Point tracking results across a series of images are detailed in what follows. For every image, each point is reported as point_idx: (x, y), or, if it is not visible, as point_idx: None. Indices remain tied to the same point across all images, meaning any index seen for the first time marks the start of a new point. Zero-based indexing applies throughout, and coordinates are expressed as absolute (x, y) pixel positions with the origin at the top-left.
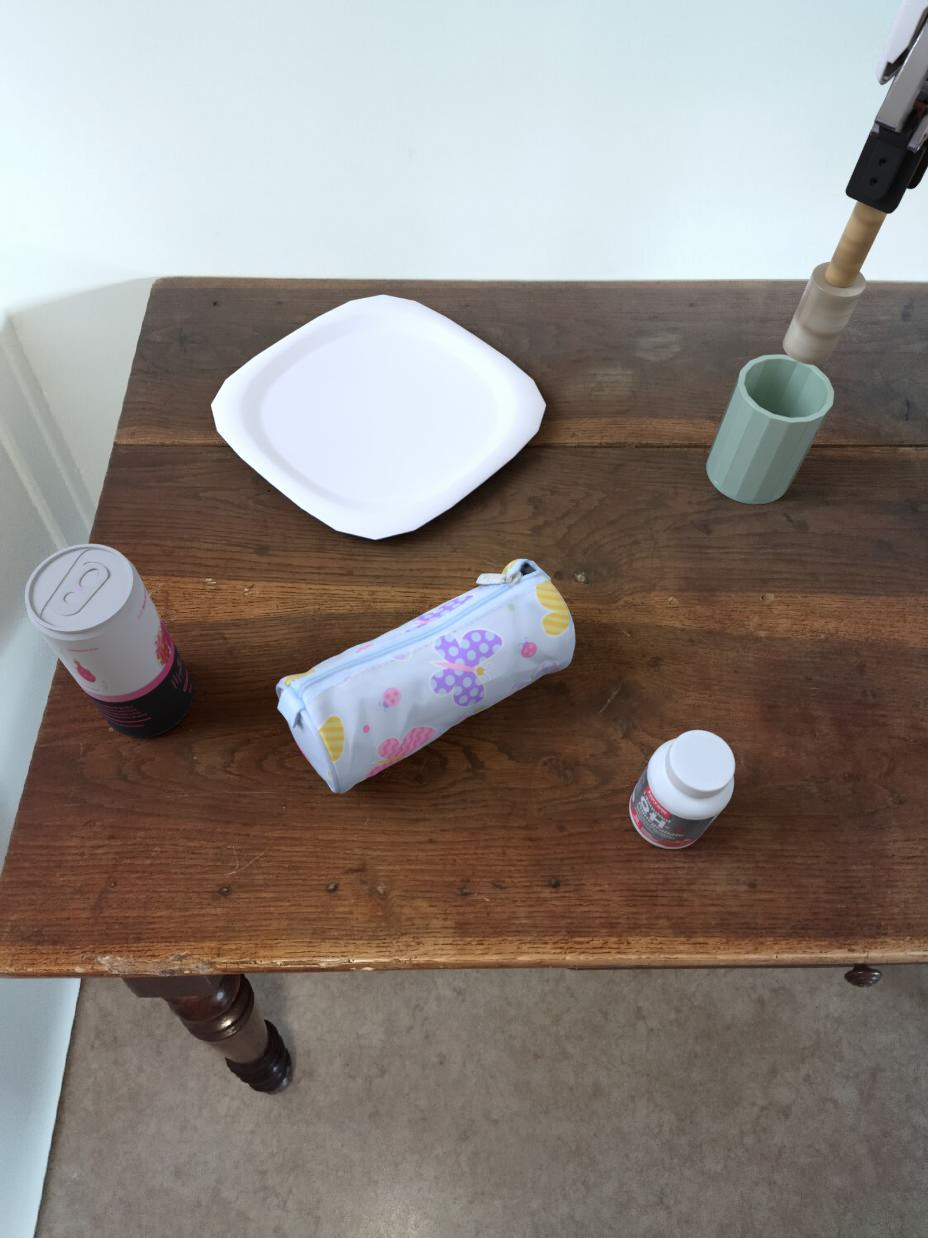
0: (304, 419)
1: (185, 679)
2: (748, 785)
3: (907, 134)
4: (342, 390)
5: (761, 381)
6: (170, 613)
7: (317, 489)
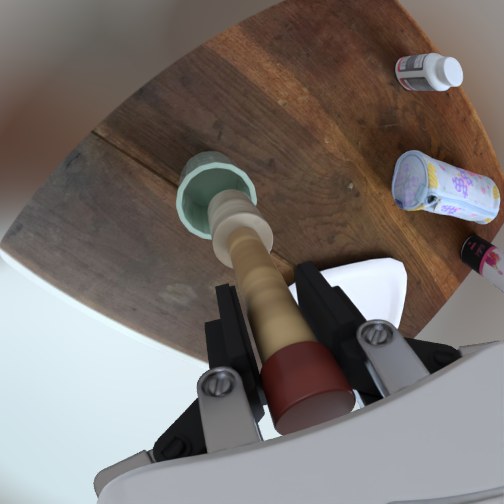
0: None
1: (474, 246)
2: (374, 50)
3: (436, 344)
4: None
5: (200, 223)
6: (448, 274)
7: (394, 298)
